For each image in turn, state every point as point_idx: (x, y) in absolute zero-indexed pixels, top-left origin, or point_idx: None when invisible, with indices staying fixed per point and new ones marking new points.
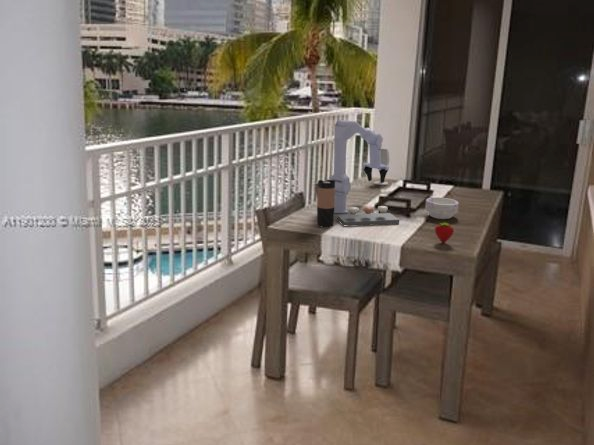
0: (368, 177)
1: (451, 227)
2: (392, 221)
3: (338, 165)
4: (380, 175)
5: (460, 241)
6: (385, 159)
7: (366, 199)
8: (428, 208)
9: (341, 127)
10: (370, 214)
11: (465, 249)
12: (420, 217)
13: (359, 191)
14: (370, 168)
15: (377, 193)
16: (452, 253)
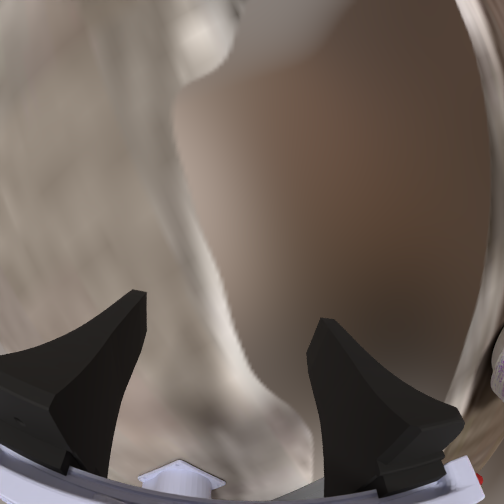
0: (128, 373)
1: (480, 485)
2: None
3: None
4: (326, 445)
5: (487, 448)
6: None
7: (158, 243)
8: (497, 395)
9: None
10: (320, 494)
11: (480, 465)
12: (463, 388)
13: (43, 62)
14: (81, 436)
15: (156, 27)
16: None
